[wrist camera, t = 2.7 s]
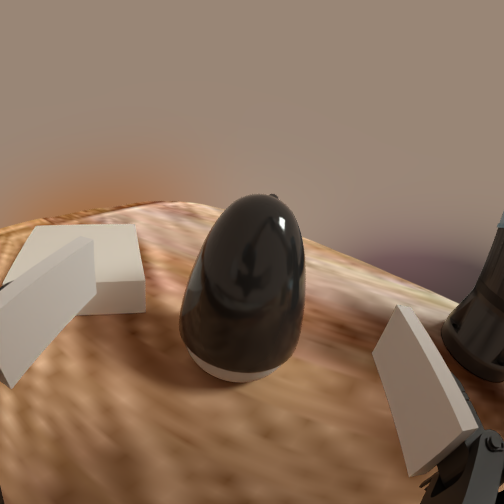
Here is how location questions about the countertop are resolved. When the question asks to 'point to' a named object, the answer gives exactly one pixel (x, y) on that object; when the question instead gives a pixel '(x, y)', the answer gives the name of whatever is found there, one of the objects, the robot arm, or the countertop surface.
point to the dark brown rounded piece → (246, 291)
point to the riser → (105, 259)
